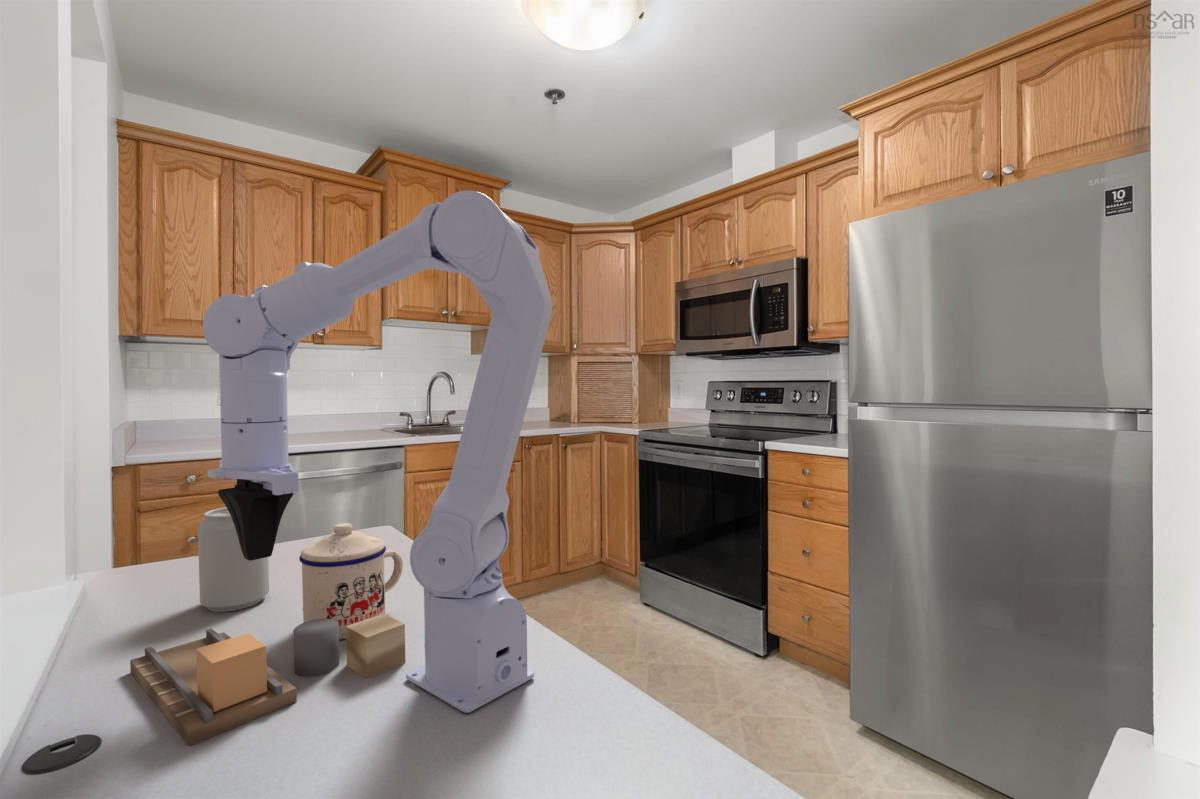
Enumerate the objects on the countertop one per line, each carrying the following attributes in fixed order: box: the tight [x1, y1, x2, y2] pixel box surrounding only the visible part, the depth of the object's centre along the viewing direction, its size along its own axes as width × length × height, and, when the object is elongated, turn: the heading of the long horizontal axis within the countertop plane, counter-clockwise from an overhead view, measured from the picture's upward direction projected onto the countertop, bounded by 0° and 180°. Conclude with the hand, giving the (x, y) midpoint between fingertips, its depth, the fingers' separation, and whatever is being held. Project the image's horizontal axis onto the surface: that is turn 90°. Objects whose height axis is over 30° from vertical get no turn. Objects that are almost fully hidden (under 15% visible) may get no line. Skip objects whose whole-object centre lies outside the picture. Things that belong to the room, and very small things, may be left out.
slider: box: [196, 632, 267, 712], centre depth 50 cm, size 4×4×4 cm
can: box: [197, 506, 270, 613], centre depth 74 cm, size 8×8×12 cm
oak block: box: [345, 613, 406, 679], centre depth 58 cm, size 4×4×4 cm
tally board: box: [129, 628, 298, 747], centre depth 54 cm, size 18×8×2 cm, turn 50°
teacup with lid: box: [298, 522, 404, 640], centre depth 68 cm, size 12×9×12 cm
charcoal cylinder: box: [292, 619, 340, 678], centre depth 57 cm, size 4×4×4 cm
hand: (257, 557), depth 58 cm, fingers closed
